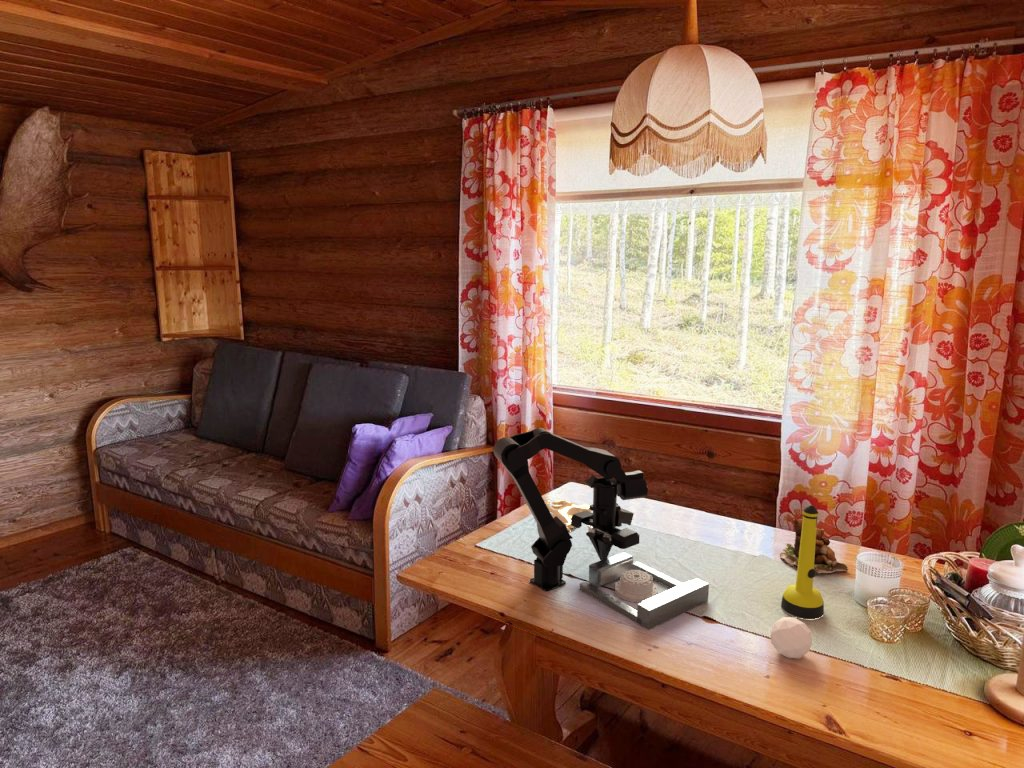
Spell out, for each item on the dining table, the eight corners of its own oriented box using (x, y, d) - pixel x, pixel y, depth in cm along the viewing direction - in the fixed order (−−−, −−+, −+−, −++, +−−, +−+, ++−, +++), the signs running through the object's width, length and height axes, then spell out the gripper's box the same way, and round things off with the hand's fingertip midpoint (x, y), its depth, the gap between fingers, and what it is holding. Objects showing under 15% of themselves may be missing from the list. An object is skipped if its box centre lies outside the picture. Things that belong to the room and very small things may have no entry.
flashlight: (780, 501, 150) (812, 515, 142) (810, 495, 154) (843, 509, 145) (772, 604, 155) (802, 624, 147) (801, 596, 158) (832, 615, 150)
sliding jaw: (599, 588, 162) (599, 570, 161) (588, 582, 165) (589, 564, 164) (634, 574, 169) (634, 556, 168) (623, 568, 172) (624, 551, 171)
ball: (777, 662, 138) (762, 622, 141) (817, 652, 136) (800, 611, 139) (780, 664, 131) (764, 622, 134) (822, 653, 129) (804, 611, 133)
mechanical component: (659, 604, 155) (655, 584, 165) (660, 587, 154) (655, 567, 164) (616, 602, 156) (613, 582, 166) (616, 585, 155) (614, 565, 165)
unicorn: (570, 490, 217) (612, 509, 205) (570, 502, 218) (611, 521, 206) (526, 506, 204) (568, 526, 192) (525, 518, 205) (567, 539, 193)
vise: (648, 629, 145) (649, 610, 144) (579, 589, 162) (579, 572, 161) (707, 601, 156) (709, 583, 155) (637, 566, 174) (638, 550, 173)
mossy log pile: (815, 581, 166) (819, 534, 164) (770, 556, 180) (774, 513, 177) (855, 571, 171) (860, 526, 169) (809, 547, 185) (813, 505, 183)
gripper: (656, 505, 163) (653, 565, 166) (601, 484, 178) (600, 540, 181) (623, 516, 157) (621, 578, 160) (569, 493, 171) (569, 551, 174)
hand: (603, 561), depth 169 cm, fingers closed
